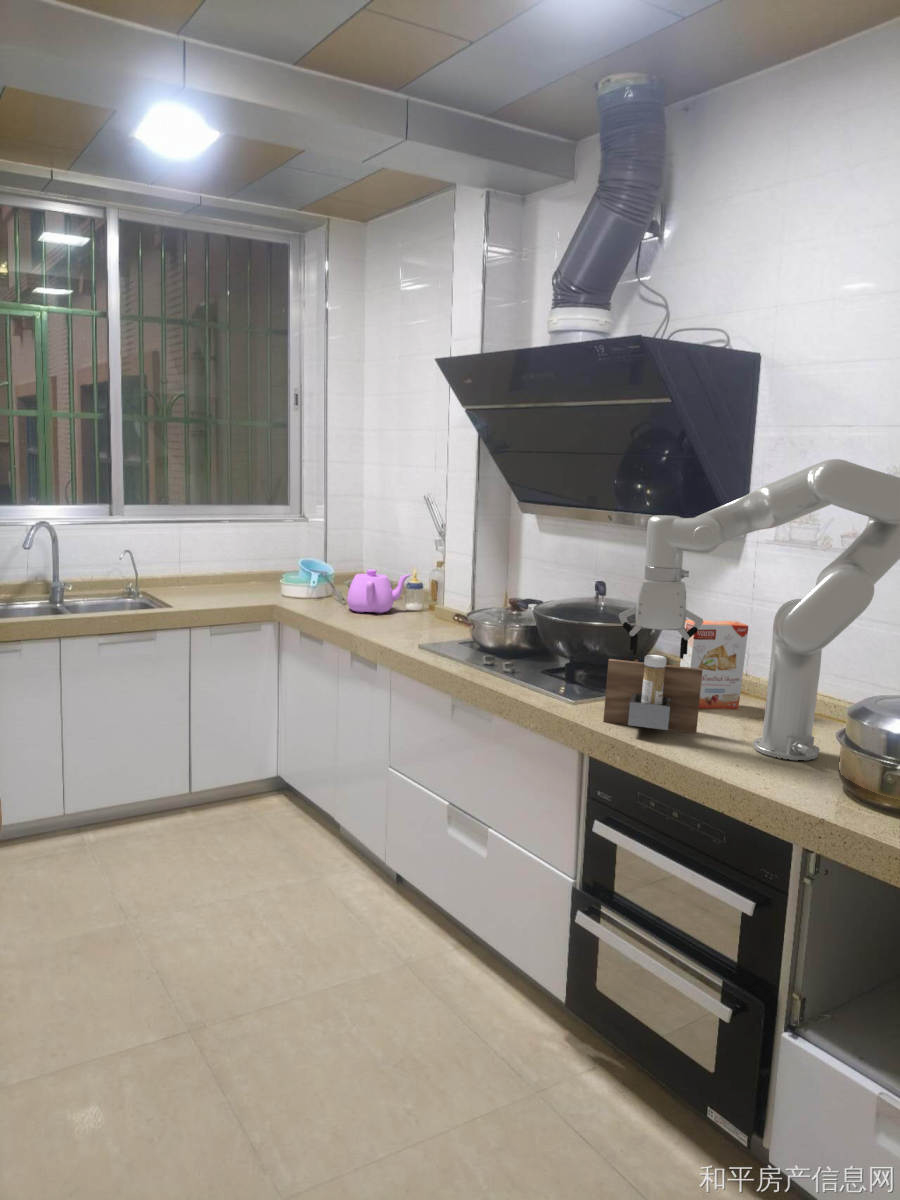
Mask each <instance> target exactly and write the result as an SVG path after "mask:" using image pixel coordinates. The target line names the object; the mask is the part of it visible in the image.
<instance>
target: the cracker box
mask: <svg viewBox="0 0 900 1200" xmlns="http://www.w3.org/2000/svg"><path fill="white" fill-rule="evenodd" d="M694 624H695V622H694V621H692V620H691V619H686V620H685V625H684V627H685V629H686V630H687V631H688V630H690V629H691V628H692V627H693V626H694ZM748 632H749V625H747V624H746V623H743V622H741V621H737V620H736V621H735V620H709V619H708V620H706V619H703V623H702V625H701V626H700V628H699V629H698V631H697V632H696V633H695V634H694V635H693V636H692V637H690V638H689V640H688V647H687V654H684V656H683V659H681V658H680V663H679V666H680V667H689V668H699V669H703V671H702V681H701V691H700V701H699V710H700V709H706V710H710V709H711V710H739V707H740V700H741V699H740V697H741V692H742V691H741V690H742V683H743V676H744V667H745V660H746V659H745V657H746V649H747V642H748V634H749V633H748Z"/></svg>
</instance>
